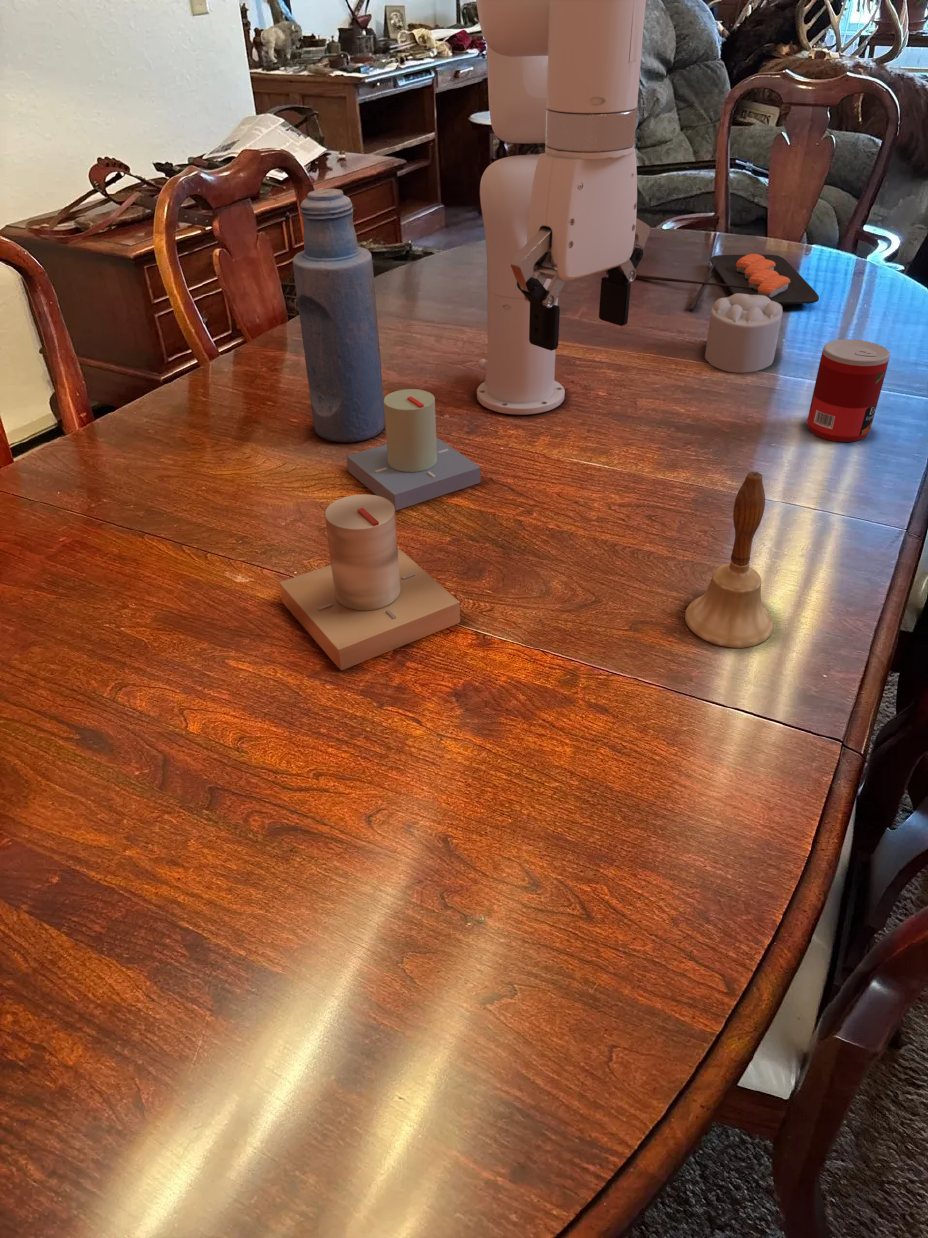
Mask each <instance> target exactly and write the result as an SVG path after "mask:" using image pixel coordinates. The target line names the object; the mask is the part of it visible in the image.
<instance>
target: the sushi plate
mask: <svg viewBox="0 0 928 1238" xmlns="http://www.w3.org/2000/svg"><path fill="white" fill-rule="evenodd" d="M710 263H711V267H710V269H709V271H708V273H707V275H706V276H705V278H704V281H700V280H699V281H697V280H690V279H682V278H681V279H680V278H672V277H663V276H657V275H656V276H655V275H645V274H637V273H636V277H635V279H639V280H649V281H659V282H660V281H661V282H674V283H683V284H684V283H685V284H695V285H701V286H700V288H699V290H698V291H697V293H696V295H695V297H694V299H693V301H692V303H691V305H690V307H689V311H690V312H694V310H695V307H696V305H697V303H698V301H699V299H700V298H701V295H702V293H703V290H704V288H705V286H715V287H726V288H727V289H728V291H730V293H731V294H732V295H734V294H737V293H740V294H748V295H763V296H766V297H768V298H769V299H770V300H771V301H774V302H777V303H779V304H781V306H782V308H788V307H789V308H790V307H794V306H797V305H804V304H805V305H806V304H814V303H815V304H816V303H818V302H819V299H820V296H819V294H818V293H817V291H815V289H813V287H812V286H811V285H810V284H809V283H808V281H806V280H805V279H804V278H803V276H801V274H800V273H799V272H798V271H797V270H796V269H795V268H794V267H793V266H792V264H790V262H788V261H787V260H786V259H785V258H784V257H782V256H780V255H776V254H762V253H761V254H758V253H749V254H719V255H713V256H711V257H710ZM713 270H715V271H716V273H717V274H718V275H719V277H720V279H721V280H722V282H723V283H718V282H717V283H716V282H708V279H709V277H710V276H711V273H712V271H713Z"/></svg>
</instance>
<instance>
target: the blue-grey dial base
mask: <svg viewBox="0 0 928 1238" xmlns="http://www.w3.org/2000/svg"><path fill="white" fill-rule="evenodd" d="M436 444H437V462H436V464H435V465H434V466H433V467H431V468H429V469H427V470H423V471H419V472H403V471H398V470H395V469H393V468H392V467H391V466H390V465H389V464H388V455H387V443H386V444H382V445H379V446H376V447H372V448H369V449H366V450H363V451H362V450H361V451H358V452H355V453H352V454H349V455H346V464H347V471H348V473H349V474H350V475H352V476H353V477H354V478H355V479H356V480H358V482H360V483H361V484H362V485H364V486H365V487H366V488H367V489H368V490H370V492H372V493H373V495H376V496H380V497H383V498H385V499H387V500H389V501H390V502H391V503H392V504H393V505H394V508H395V512H397V511H399V510H403V509H405V508H409V507H412V506H414V505H417V504H421V503H424V502H426V501H430V500H433V499H435V498H439V497H442V496H445V495H449V494H452V493H454V492H458V491H460V490H463V489H466V488H470V487H472V486H475V485H478V484H481V481H482V480H481V466H480V465H478V464H477V463H475V462H474V461H473V460H471V459H470V458H469V457H467V456H465V455H464V454H462V453H461V452H459V451H457V450H456V449H455V448H453V447H452V446H450V444H447V443H446V442H445V441H443V440H442V439H440V438H438V436H436Z"/></svg>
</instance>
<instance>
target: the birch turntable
mask: <svg viewBox="0 0 928 1238" xmlns="http://www.w3.org/2000/svg"><path fill="white" fill-rule="evenodd" d="M398 561H399V575H400V589H401V590H400V594H399V596H398V598H397V599H396V600H395V601H394V602H392V603H391V604H389V605H387V606H385V607H382V608H379V609H375V610H363V611H362V610H354V609H350V608H347V607H345V606H343V605H341V604H340V603H339V602H338V601H337V599H336V597H335V593H334V584H333V576H332V568H331V564H329V565H325V566H322V567H319V568H316V569H314V570H311V571H308V572H305V573H303V574H300V575H297V576H293V577H291V578H288V579H285V580H282V581H280V582H278V583H279V589H280V595H281V601H282V604H283V605H284V606H285V608H287V610H288V611H289V612H290V613H291V614H292V616H293V617H294V618H295V619H296V620H297V621H298V623H299V624H300V625H301V626H302V627H303V628H304V629H305V631H306V632H307V633H308V634H309V636H310V637H311V638H312V639H313V640H314V642H315V643H316V644H317V645H318V646H319V647H320V648H321V649H322V651H323V652H324V653H325V654H326V656H327V657H328V658H329V659H330V660H331V661H332V663H333V664H335V666H336V667H337V668H338V669H339V670H340V671H341V672H342V671H345V670H347V669H349V668H352V667H354V666H356V665H358V664H361V663H362V664H363V663H364V662H366V661H369V660H371V659H374V658H376V657H379V656H381V655H383V654H384V655H385V654H387V653H389V652H391V651H393V650H396V649H398V648H399V649H400V648H401V647H403V646H405V645H409V644H411V643H413V642H416V641H419V640H421V639H423V638H427V637H428V636H431V635H434V634H437V633H438V632H441V631H443V630H446V629H448V628H451V627H453V626H456V625H458V624H460V623H461V602H460V601H459V600H458V599H457V598H456V597H455V596H453V595H452V594H451V593H450V592H449V591H448V590H447V589H446V588H444V587H443V585H441V584H440V583H439V582H438V581H437V580H435V579H434V577H432V576H431V575H430V574H428V572H426V571H425V569H423V568H422V567H420V566H419V564H418V563H416V562H415V561H414V560H413V559H412V558H411V557H409V556H408V555H407V554H406V553H405V552H404V551H403V550H401V549H400V548H399V547H398Z"/></svg>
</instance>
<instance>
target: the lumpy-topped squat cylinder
mask: <svg viewBox="0 0 928 1238" xmlns="http://www.w3.org/2000/svg"><path fill="white" fill-rule="evenodd" d="M782 318H783V307H782V306H781V304H779V303H777V302H774V301H771V300H770V299H769V298H768V297H766V296H763V295H748V294H740V293H737V294H734V295H733V294H732V295H730V296H727V297H720V298H718V299H717V300H716V301H715V302H714V304H713V305H712V308H711V311H710V318H709V324H708V331H707V338H706V346H705V351H704V352H705V353H704V359H705V360H706V362H708V363H709V364H710V365H711V366H713V367H714V368H717V369H719V370H722V371H725V372H729V373H736V374H737V373H738V374H742V373H746V374H747V373H753V372H758V371H761V370H763V369H766V368H768V367H770V366H771V365H772V364H773V363H774V360H775V356H776V350H777V345H778V341H779V334H780V329H781V323H782Z"/></svg>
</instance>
